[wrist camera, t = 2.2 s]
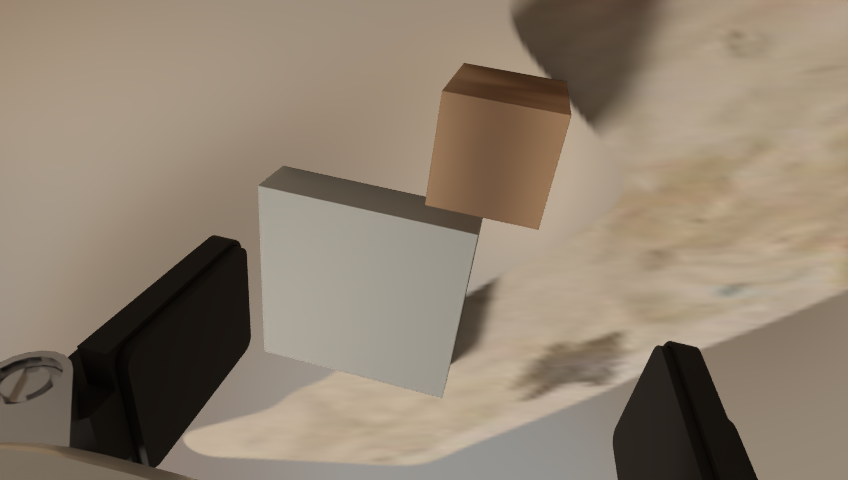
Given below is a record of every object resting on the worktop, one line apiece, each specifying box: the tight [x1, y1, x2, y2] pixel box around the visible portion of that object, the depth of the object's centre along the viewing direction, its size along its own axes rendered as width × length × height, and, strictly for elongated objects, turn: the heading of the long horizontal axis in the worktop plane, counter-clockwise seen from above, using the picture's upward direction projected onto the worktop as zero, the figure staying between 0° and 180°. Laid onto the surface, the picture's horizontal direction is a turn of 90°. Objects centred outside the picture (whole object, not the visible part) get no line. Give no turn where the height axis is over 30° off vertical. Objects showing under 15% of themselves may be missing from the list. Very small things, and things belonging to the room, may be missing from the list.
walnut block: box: [425, 63, 571, 229], centre depth 23 cm, size 5×5×6 cm
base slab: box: [258, 166, 483, 398], centre depth 31 cm, size 12×12×3 cm
